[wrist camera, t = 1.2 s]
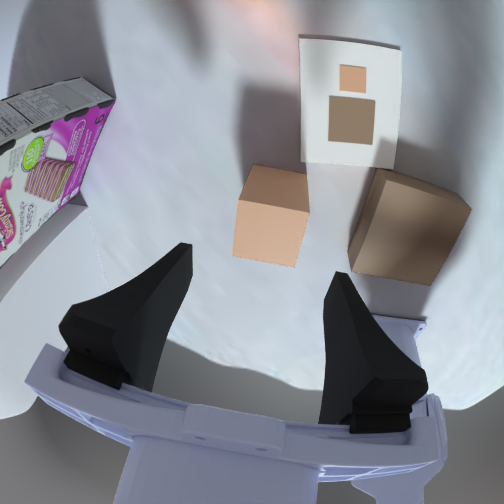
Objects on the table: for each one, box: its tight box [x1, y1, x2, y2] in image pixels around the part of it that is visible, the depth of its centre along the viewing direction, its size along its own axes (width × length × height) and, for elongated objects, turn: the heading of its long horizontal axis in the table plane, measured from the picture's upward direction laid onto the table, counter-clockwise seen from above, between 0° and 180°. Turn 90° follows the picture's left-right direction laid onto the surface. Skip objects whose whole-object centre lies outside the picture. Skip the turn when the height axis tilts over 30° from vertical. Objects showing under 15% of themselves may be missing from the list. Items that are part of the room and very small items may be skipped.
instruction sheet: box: [299, 38, 402, 169], centre depth 16 cm, size 9×7×1 cm
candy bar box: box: [0, 77, 116, 269], centre depth 14 cm, size 11×5×16 cm, turn 142°
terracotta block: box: [232, 165, 310, 268], centre depth 19 cm, size 4×4×6 cm
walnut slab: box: [347, 168, 472, 286], centre depth 20 cm, size 8×8×3 cm
